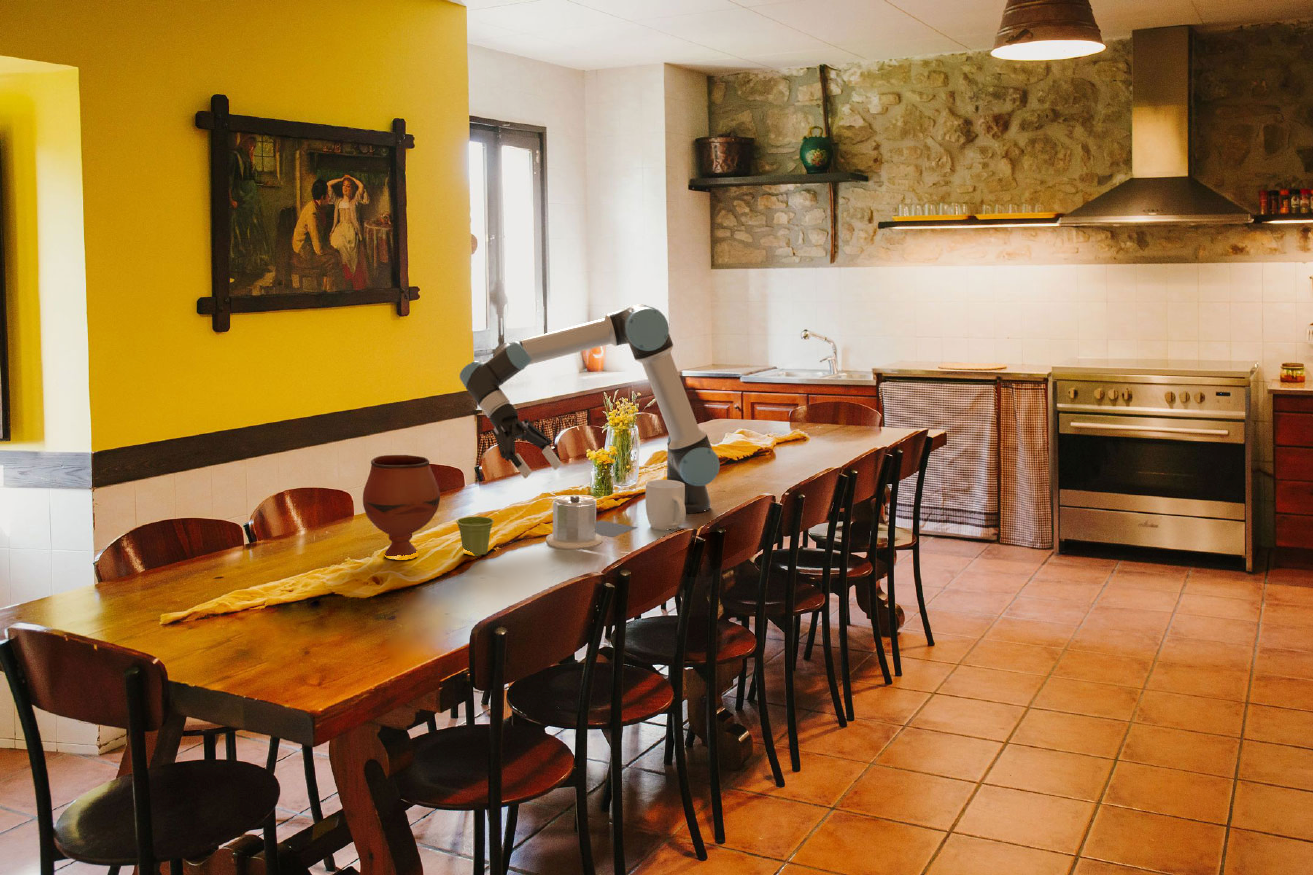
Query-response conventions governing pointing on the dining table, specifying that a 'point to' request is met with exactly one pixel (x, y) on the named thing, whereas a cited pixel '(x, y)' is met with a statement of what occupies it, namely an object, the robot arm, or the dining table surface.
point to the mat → (611, 528)
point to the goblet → (400, 498)
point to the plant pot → (475, 534)
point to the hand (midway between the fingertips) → (543, 471)
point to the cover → (574, 519)
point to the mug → (665, 504)
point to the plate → (572, 545)
